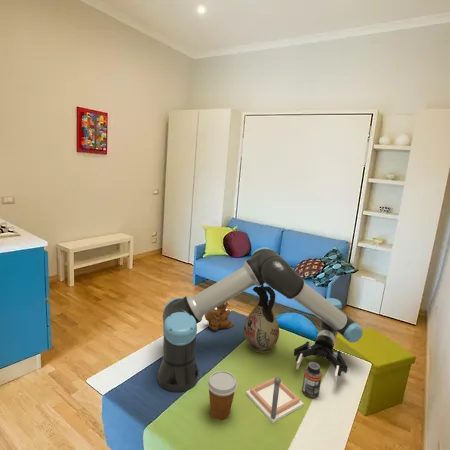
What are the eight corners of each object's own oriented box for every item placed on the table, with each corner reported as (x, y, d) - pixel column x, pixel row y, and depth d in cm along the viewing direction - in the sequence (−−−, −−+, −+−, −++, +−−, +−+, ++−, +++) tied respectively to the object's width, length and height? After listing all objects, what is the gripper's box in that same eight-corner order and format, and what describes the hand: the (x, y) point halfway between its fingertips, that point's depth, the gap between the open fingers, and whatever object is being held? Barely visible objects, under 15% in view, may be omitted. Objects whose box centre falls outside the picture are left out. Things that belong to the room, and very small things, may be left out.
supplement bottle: (307, 384, 115) (311, 357, 113) (321, 393, 111) (326, 365, 109) (298, 391, 111) (302, 364, 109) (313, 401, 107) (317, 373, 105)
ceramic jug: (235, 342, 138) (240, 280, 131) (262, 333, 146) (268, 274, 140) (259, 364, 124) (266, 296, 118) (287, 353, 132) (295, 289, 126)
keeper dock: (272, 423, 97) (277, 381, 94) (245, 393, 109) (249, 355, 105) (303, 405, 105) (308, 366, 102) (275, 380, 116) (279, 343, 113)
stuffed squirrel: (235, 325, 152) (237, 300, 149) (215, 336, 142) (217, 310, 139) (220, 317, 159) (221, 293, 156) (200, 327, 148) (201, 302, 145)
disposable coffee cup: (224, 429, 94) (227, 396, 91) (199, 414, 99) (201, 382, 96) (240, 409, 102) (242, 377, 99) (216, 396, 107) (218, 365, 104)
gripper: (354, 360, 127) (350, 394, 108) (294, 341, 137) (281, 369, 119) (357, 344, 125) (354, 375, 107) (296, 326, 136) (283, 352, 117)
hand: (315, 372), depth 113 cm, fingers open, 13 cm apart
